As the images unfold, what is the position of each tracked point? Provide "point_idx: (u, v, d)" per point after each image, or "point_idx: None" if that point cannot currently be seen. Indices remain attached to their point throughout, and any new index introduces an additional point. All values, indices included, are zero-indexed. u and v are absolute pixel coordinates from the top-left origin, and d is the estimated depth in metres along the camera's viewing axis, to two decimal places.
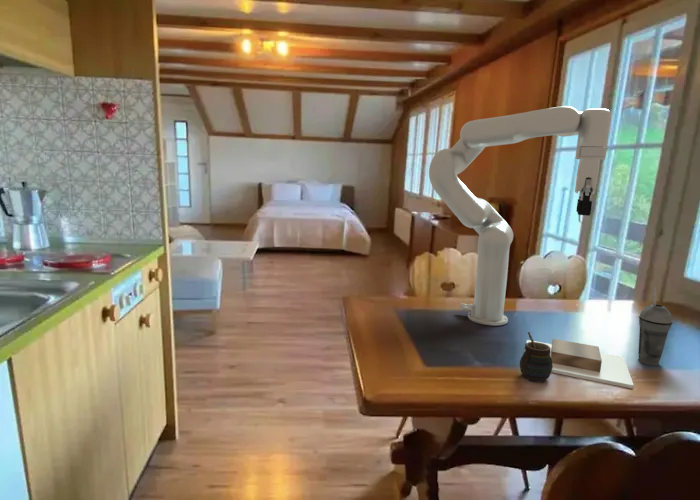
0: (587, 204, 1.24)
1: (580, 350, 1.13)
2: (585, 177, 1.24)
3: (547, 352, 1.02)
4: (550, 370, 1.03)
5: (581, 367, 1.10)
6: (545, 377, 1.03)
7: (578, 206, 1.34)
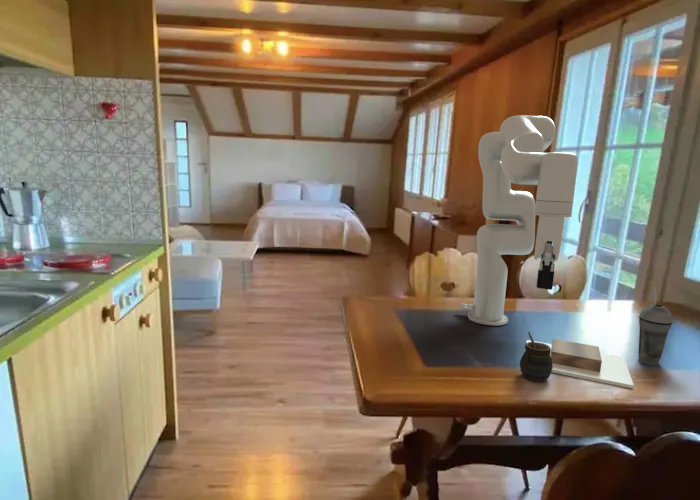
0: (548, 275, 0.96)
1: (580, 350, 1.13)
2: (545, 241, 0.96)
3: (547, 352, 1.02)
4: (550, 370, 1.03)
5: (581, 367, 1.10)
6: (545, 377, 1.03)
7: None
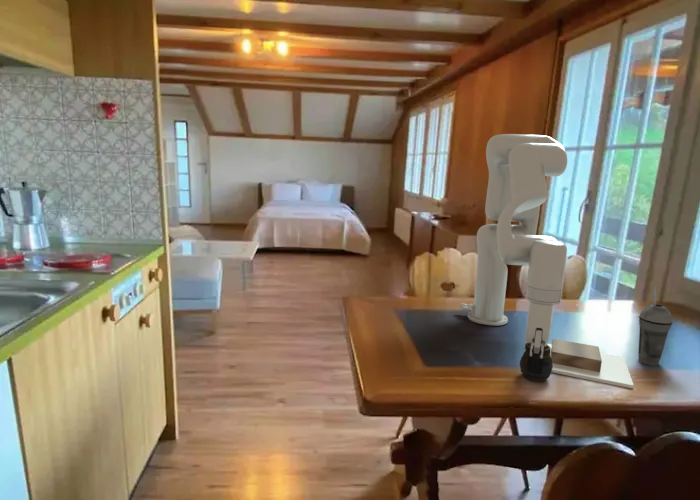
0: (537, 362, 1.00)
1: (580, 350, 1.13)
2: (535, 327, 1.00)
3: (547, 352, 1.02)
4: (550, 370, 1.03)
5: (581, 367, 1.10)
6: (545, 377, 1.03)
7: None
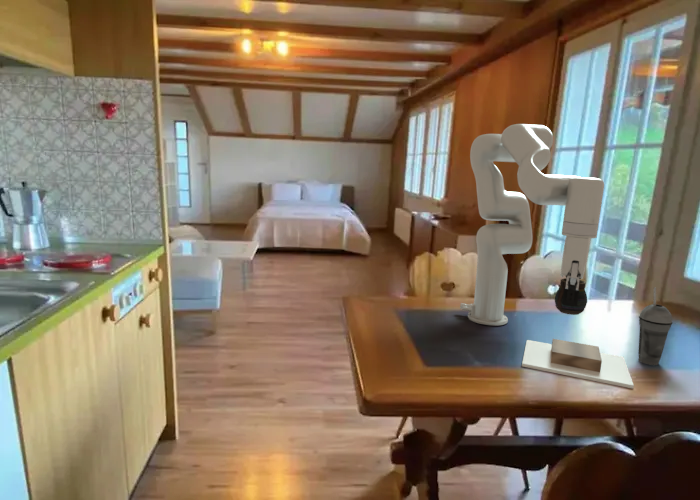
0: (573, 294, 1.04)
1: (580, 350, 1.13)
2: (571, 260, 1.03)
3: (582, 285, 1.06)
4: (585, 303, 1.07)
5: (581, 367, 1.10)
6: (580, 310, 1.07)
7: None
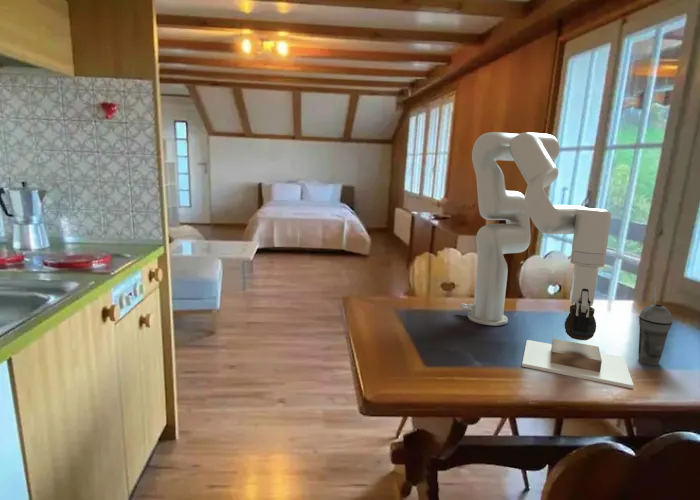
0: (583, 321, 1.08)
1: (580, 350, 1.13)
2: (581, 288, 1.07)
3: (592, 312, 1.10)
4: (594, 329, 1.11)
5: (581, 367, 1.10)
6: (590, 336, 1.10)
7: None
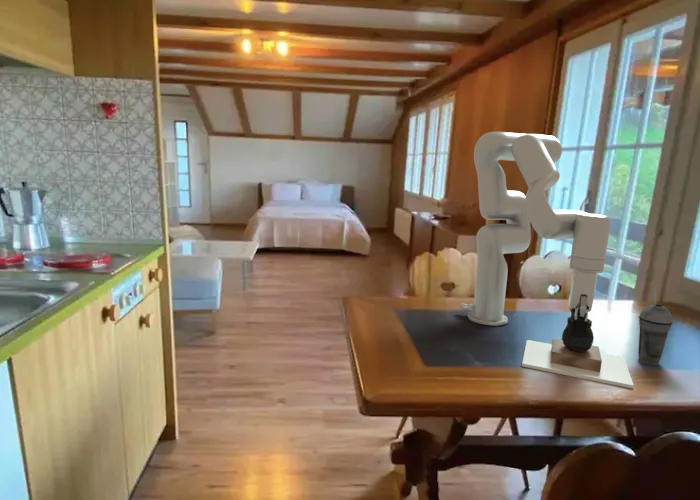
0: (582, 325, 1.08)
1: None
2: (580, 293, 1.08)
3: (589, 324, 1.11)
4: (592, 341, 1.11)
5: (581, 367, 1.10)
6: (587, 348, 1.11)
7: None
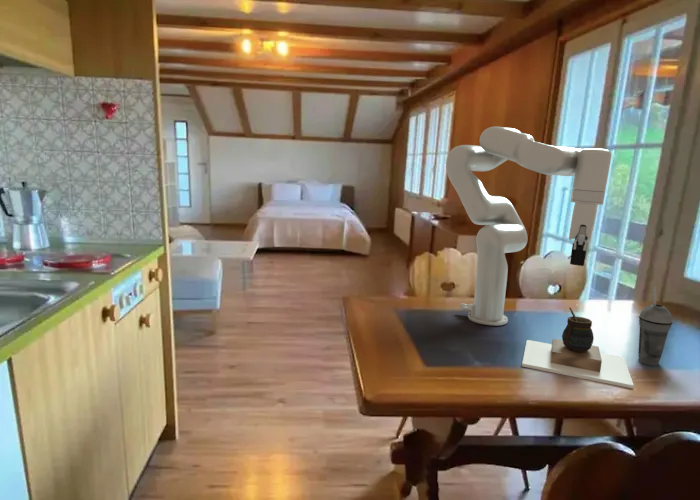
0: (580, 254, 1.13)
1: None
2: (579, 224, 1.13)
3: (589, 325, 1.11)
4: (592, 341, 1.11)
5: (581, 367, 1.10)
6: (587, 348, 1.11)
7: None
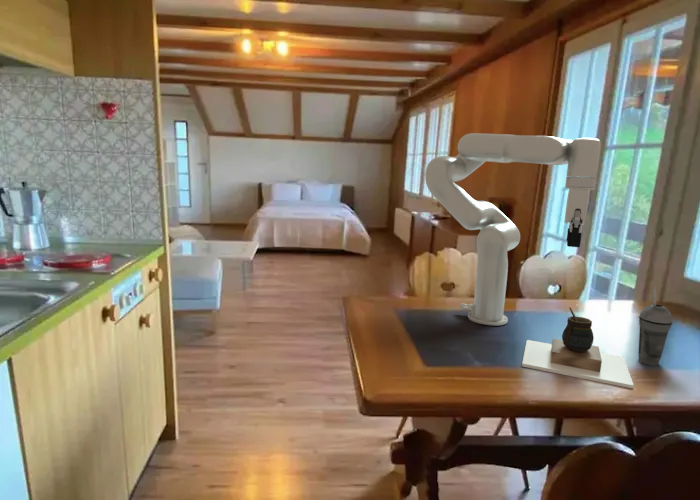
0: (576, 236, 1.21)
1: None
2: (574, 208, 1.21)
3: (589, 325, 1.11)
4: (592, 341, 1.11)
5: (581, 367, 1.10)
6: (587, 348, 1.11)
7: None
